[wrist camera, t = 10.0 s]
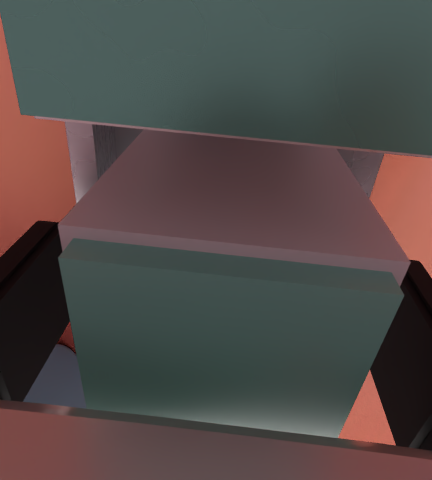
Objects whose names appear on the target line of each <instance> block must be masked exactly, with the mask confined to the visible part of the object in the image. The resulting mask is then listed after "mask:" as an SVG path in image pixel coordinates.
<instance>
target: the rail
mask: <svg viewBox="0 0 432 480" xmlns="http://www.w3.org/2000/svg"><path fill="white" fill-rule="evenodd" d="M0 14H1V19H2V24H3V29H4V34H5V39H6V44H7V49H8V54H9V58H10V63H11V68H12V73H13V78H14V83H15V88H16V93H17V98H18V103H19V108H20V112H21V115H30V116H34V118H37V119H47V120H56V121H65V127H66V134H67V141H68V148H69V155H70V162H71V169H72V176H73V183H74V190H75V197H76V204H77V203H78V202H79V201H80V199H81V198H82V197H83V196H84V195H85V194H86V193H87V192H88V191H89V189H90V188H91V187H92V186H93V185H94V184H95V183H96V182H97V181H98V180H99V178H100V177H101V176H102V175H103V174H104V173H105V172H106V171H107V170H108V168H109V167H110V166H111V165H112V164H113V163H114V162H115V161H116V160H117V159H118V157H119V156H120V155H121V154H122V153H123V152H124V151H125V150H126V149H127V147H128V146H129V145H130V144H131V143H132V142H133V141H134V140H135V139H136V138H137V136H138V135H139V134H140V133H141V132H142V131H143V130H144V129H146V130H156V131H166V132H176V133H186V134H196V135H206V136H216V137H226V138H236V139H246V140H256V141H266V142H276V143H286V144H296V145H306V146H316V147H326V148H336V149H337V151H338V152H339V154H340V155H341V157H342V158H343V160H344V161H345V163H346V164H347V166H348V167H349V169H350V170H351V172H352V173H353V175H354V176H355V178H356V180H357V181H358V183H359V184H360V186H361V187H362V189H363V190H364V192H365V193H366V195H367V196H368V198H369V197H370V195H371V192H372V189H373V186H374V183H375V180H376V177H377V174H378V171H379V168H380V165H381V162H382V159H383V156H384V153H386V154H396V155H405V156H415V157H425V158H432V0H0Z"/></svg>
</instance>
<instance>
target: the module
mask: <svg viewBox="0 0 432 480" xmlns="http://www.w3.org/2000/svg"><path fill="white" fill-rule="evenodd" d="M58 229H59V235H60V240H61V246H62V253H61V255H60V256H59V257H58V260H59V265H60V270H61V276H62V281H63V286H64V292H65V297H66V302H67V307H68V313H69V318H70V323H71V329H72V334H73V339H74V344H75V350H76V355H77V360H78V366H79V371H80V376H81V381H82V387H83V392H84V397H85V403H86V408H87V409H94V410H103V411H112V412H121V413H130V414H139V415H148V416H156V417H165V418H173V419H182V420H190V421H199V422H207V423H216V424H224V425H233V426H241V427H250V428H258V429H266V430H275V431H283V432H291V433H299V434H307V435H315V436H323V437H332V438H338V436H339V434H340V432H341V430H342V428H343V426H344V423H345V421H346V419H347V417H348V415H349V413H350V411H351V408H352V406H353V404H354V402H355V400H356V398H357V396H358V393H359V391H360V389H361V387H362V385H363V383H364V381H365V379H366V376H367V374H368V372H369V370H370V368H371V366H372V364H373V361H374V359H375V357H376V355H377V353H378V351H379V349H380V346H381V344H382V342H383V340H384V338H385V336H386V334H387V331H388V329H389V327H390V325H391V323H392V321H393V319H394V316H395V314H396V312H397V310H398V308H399V306H400V304H401V301H402V299H403V297H404V294H403V292H402V290H401V288H400V285H401V283H402V281H403V279H404V276H405V274H406V272H407V270H408V267H409V265H410V263H411V262H410V260H409V259H408V257H407V256H406V254H405V253H404V251H403V250H402V248H401V247H400V245H399V244H398V242H397V241H396V239H395V238H394V236H393V234H392V233H391V231H390V230H389V228H388V227H387V225H386V224H385V222H384V221H383V219H382V218H381V216H380V215H379V213H378V212H377V210H376V209H375V207H374V205H373V204H372V202H371V201H370V199H369V198H368V196H367V195H366V193H365V192H364V190H363V189H362V187H361V186H360V184H359V183H358V181H357V180H356V178H355V176H354V175H353V173H352V172H351V170H350V169H349V167H348V166H347V164H346V163H345V161H344V160H343V158H342V157H341V155H340V154H339V152H338V151H337V149H336V148H326V147H316V146H306V145H296V144H286V143H276V142H266V141H256V140H246V139H236V138H226V137H216V136H206V135H196V134H186V133H176V132H166V131H156V130H146V129H144V130H143V131H142V132H141V133H140V134H139V135H138V136H137V138H136V139H135V140H134V141H133V142H132V143H131V144H130V145H129V146H128V147H127V149H126V150H125V151H124V152H123V153H122V154H121V155H120V156H119V157H118V159H117V160H116V161H115V162H114V163H113V164H112V165H111V166H110V167H109V168H108V170H107V171H106V172H105V173H104V174H103V175H102V176H101V177H100V178H99V180H98V181H97V182H96V183H95V184H94V185H93V186H92V187H91V188H90V189H89V191H88V192H87V193H86V194H85V195H84V196H83V197H82V198H81V199H80V201H79V202H78V203H77V204H76V205H75V206H74V207H73V208H72V209H71V210H70V212H69V213H68V214H67V215H66V216H65V217H64V218H63V219H62V220H61V222H60V223H59V224H58Z"/></svg>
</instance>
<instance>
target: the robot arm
mask: <svg viewBox="0 0 432 480" xmlns="http://www.w3.org/2000/svg"><path fill="white" fill-rule="evenodd" d="M58 224H59V222H50V221H37V222H36V223H35V224H34V225H33V226H32V227H31V228H30V229H29V230H28V231H27V232H26V233H25V234H24V235H23V236H22V237H21V238H20V239H19V240H17V241H16V242H15V243H14V244H13V245H12V246H11V247H10V248H9V249H8V250H7V251H6V252H5V253H4V254H3V255H2V256H1V257H0V480H432V278H431V277H430V275H429V274H428V272H427V271H426V269H425V268H424V267H423V265H422V264H421V263H420V262H419V261H415V260H410V262H411V263H410V265H409V267H408V270H407V272H406V274H405V276H404V279H403V281H402V283H401V285H400V288H401V290H402V292H403V294H404V297H403V299H402V301H401V304H400V306H399V308H398V310H397V312H396V314H395V316H394V319H393V321H392V323H391V325H390V327H389V329H388V331H387V334H386V336H385V338H384V340H383V342H382V344H381V346H380V349H379V351H378V353H377V355H376V357H375V359H374V361H373V364H372V366H371V368H370V371H371V374H372V376H373V379H374V382H375V385H376V388H377V391H378V394H379V397H380V400H381V403H382V406H383V409H384V411H385V414H386V417H387V420H388V423H389V426H390V429H391V432H392V435H393V438H394V441H395V443H396V446H394V445H387V444H380V443H372V442H364V441H356V440H348V439H340V438H332V437H323V436H315V435H307V434H299V433H291V432H283V431H275V430H266V429H258V428H250V427H241V426H233V425H224V424H216V423H207V422H199V421H190V420H182V419H173V418H165V417H156V416H148V415H139V414H130V413H121V412H112V411H103V410H94V409H85V408H76V407H68V406H59V405H50V404H40V403H30V402H23V401H24V399H25V397H26V395H27V394H28V392H29V390H30V389H31V387H32V385H33V383H34V382H35V380H36V378H37V377H38V375H39V373H40V371H41V370H42V368H43V366H44V365H45V363H46V361H47V359H48V358H49V356H50V354H51V352H52V351H53V349H54V347H55V346H56V344H57V342H58V340H59V339H60V337H61V335H62V334H63V332H64V330H65V328H66V327H67V325H68V323H69V322H70V318H69V313H68V307H67V302H66V297H65V292H64V286H63V281H62V276H61V270H60V265H59V260H58V257H59V256H60V255H61V253H62V246H61V240H60V235H59V229H58Z"/></svg>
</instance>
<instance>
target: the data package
mask: <svg viewBox="0 0 432 480" xmlns="http://www.w3.org/2000/svg"><path fill="white" fill-rule="evenodd" d="M23 402H30V403H40V404H50V405H59V406H68V407H76V408H85V409H87V408H86V403H85V397H84V392H83V387H82V381H81V376H80V371H79V366H78V360H77V355H76V354H75V353H74V352H73V351H72V350H71V349H70V348H68V347H66V346H64V345H60V344H56V346H55V347H54V349H53V351H52V352H51V354H50V356H49V358H48V359H47V361H46V363H45V365H44V366H43V368H42V370H41V371H40V373H39V375H38V377H37V378H36V380H35V382H34V383H33V385H32V387H31V389H30V390H29V392H28V394H27V395H26V397H25V399H24V401H23Z"/></svg>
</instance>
